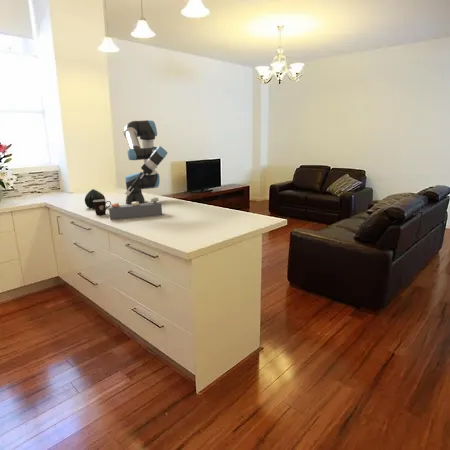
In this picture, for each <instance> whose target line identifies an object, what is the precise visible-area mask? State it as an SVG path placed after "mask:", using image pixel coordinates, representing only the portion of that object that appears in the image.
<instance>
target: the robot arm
mask: <svg viewBox="0 0 450 450" xmlns="http://www.w3.org/2000/svg"><path fill="white" fill-rule="evenodd" d="M123 136H124V138H125V139H126V142H127V146H128V149H127V156H128V157H127V158H128V160H129V161H141V160H143V165H142V166H141V167H140V169H141V170H142V171H140V172H138V173H137V172H136V173H130V174H128V175H126V176H125V180H124V181H125V186H126V191H125V192H124V194H125V195H126V198H125V205H131V204H132V202H139V204H143V203H146V199H145V197H144V195H143V191H142V190H148V189H156V188H159V186H160V182H161V181H160V174H159V173H158V171H157V170H156V169H158V166H159V165H160V163H162V161H163V160H164V159H165V158H166V156H167V155H168V151H167V150H166V149H165V148H164V147H162V146H161V145H158V146H154V145H155V144H154V140H156V137H157V136H158V131H157V126H156V123H155V121H154V120H131V121H130V122H128V123H127V124H126V125H125V126H124V128H123ZM138 137H139V138H138ZM139 140H141V145H142V148H141V145H140V141H139Z"/></svg>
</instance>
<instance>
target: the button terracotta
mask: <svg viewBox="0 0 450 450" xmlns="http://www.w3.org/2000/svg"><path fill="white" fill-rule="evenodd" d="M119 205H120V204H119V202H115V203H111V205H110V206H112V207H119Z"/></svg>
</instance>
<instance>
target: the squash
mask: <svg viewBox="0 0 450 450" xmlns="http://www.w3.org/2000/svg"><path fill="white" fill-rule="evenodd" d="M100 199H104V200H106V197H105V196H104V194H103V193H102V192H100V191H98V190H97V189H93V188H92V189H91V190H89V191H88V193H86V195H85V197H84V203H85V206H86V207H87V208H89V209H95V208H94V205H93V201H94V200H100Z"/></svg>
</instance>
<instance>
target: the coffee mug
mask: <svg viewBox="0 0 450 450" xmlns="http://www.w3.org/2000/svg"><path fill="white" fill-rule="evenodd" d="M108 202H109V205H108V206H107V207H106V205H107V203H108ZM111 204H112V202H111V201H110V200H107V199H105V200H104V199H100V200H94V201H93V205H94V208H93V209H94V211H95V215H96V216H104V215H106V213H107V212H106V211H107V210H108V209H109V207H110V206H112V205H111Z"/></svg>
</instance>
